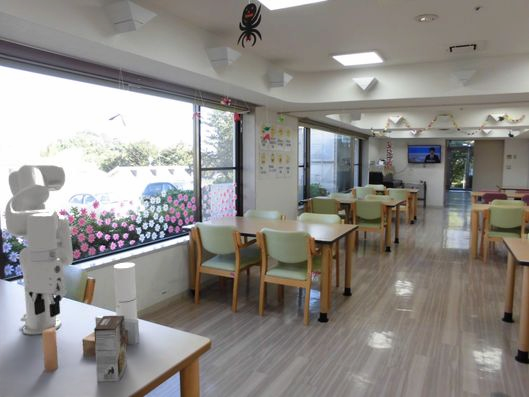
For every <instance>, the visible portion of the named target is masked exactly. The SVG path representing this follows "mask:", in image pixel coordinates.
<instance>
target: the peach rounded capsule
mask: <svg viewBox="0 0 529 397" xmlns="http://www.w3.org/2000/svg"><path fill="white" fill-rule="evenodd" d="M56 331H57V329H54V328H50V329H46V330H44V331H42V334H41V335H42V336H41V337H42V339H41V340H42V352H43V362H44V363H43V366H44V372H54V371H57V370H58V368H59V359H58V358H59V357H58V345H57V343H58V342H57V334H56V333H57V332H56Z"/></svg>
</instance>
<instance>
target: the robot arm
mask: <svg viewBox="0 0 529 397" xmlns="http://www.w3.org/2000/svg"><path fill="white" fill-rule="evenodd" d="M65 183H66V174H65V170H64V168H63V166H62V165H60V164H59V163H56V162H51V163H47V162H45V163H37V162H36V163H27V164H24V165H22V166H20V168H19V169H17V170H15V171H12V172H11V173H9V175H8V185H9V189H10V192H11V194H12V196H11V198H10V199H9V200H8V202H7V204H6V206H5V212H4V213H5V227H6V230H7V232H8V234H9V235H10V236H12V237H22V238H23V241H25V242H27V247H24V248H22V249H21V250H20V251H19V255H18V260H19V265H20V269H21V272H22V277H23V279H22V280H23V287H24V301H25V310H26V311H25V312H26V313H24V314H23V316H22V317H21V318H20V321H21V322H24V323H25V324H24V326H23V327H22V332H23V334H26V335H29V336H30V335H31V336H33V335H34V336H35V335H36V336H37V335H42V331H44V330H46V329H50V328H54V329H56V330H57V329H58V328H59V327H60V326H61V325H62V321H61V319H59V318H58V317H57V316H58V315H60V314H61V306H60V305H61V304H60V302H61V301H62V299H63V298H64V297H65V296H66V295H67V294H68V290H67V289H66V279H65V278H66V277H65V273H64V272H65V271H64V268H67V267H69V266H70V265H71V266H72V263H73V262H74V253H73V243H72V236H71V235H72V234H71V229H70V223H69V220H68V218H67V217H66V216H65V215H61V214H59V213H58V212H57V211H56V210H54V209H48V208H47V209H46V202H47V201H48V199H49V198H50V192H57V191H60V190H61V189H62V188H63V186H64V185H65Z"/></svg>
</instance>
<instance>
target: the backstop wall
mask: <svg viewBox="0 0 529 397" xmlns="http://www.w3.org/2000/svg"><path fill="white" fill-rule="evenodd" d="M103 316H104V315H102V314H101V315H99V314H98V315H97V316H95V318H94V319H95V327H96V326H97V324H98V323H99V322H100V320H101V319H102V317H103ZM124 323H125V330H128V344H127V345H135V346H136V345H138V344H139V343H140V328H139V327H140V325H139V320H138V319H137V320H133V319H126V318H124ZM137 343H138V344H137Z"/></svg>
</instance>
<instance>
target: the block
mask: <svg viewBox="0 0 529 397" xmlns="http://www.w3.org/2000/svg"><path fill="white" fill-rule="evenodd" d="M125 340H126V346H127V345H129V344H128V330H125ZM81 342H82V353H83V355H89V356H95V357H96V350H95V334H94V332H92V333H90V334H89V335H87V336H85V337H83V338H82V340H81Z"/></svg>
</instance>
